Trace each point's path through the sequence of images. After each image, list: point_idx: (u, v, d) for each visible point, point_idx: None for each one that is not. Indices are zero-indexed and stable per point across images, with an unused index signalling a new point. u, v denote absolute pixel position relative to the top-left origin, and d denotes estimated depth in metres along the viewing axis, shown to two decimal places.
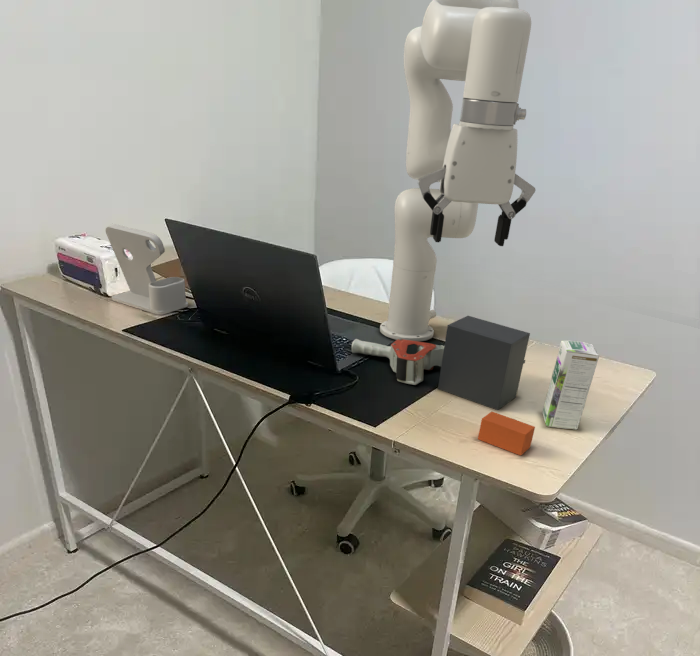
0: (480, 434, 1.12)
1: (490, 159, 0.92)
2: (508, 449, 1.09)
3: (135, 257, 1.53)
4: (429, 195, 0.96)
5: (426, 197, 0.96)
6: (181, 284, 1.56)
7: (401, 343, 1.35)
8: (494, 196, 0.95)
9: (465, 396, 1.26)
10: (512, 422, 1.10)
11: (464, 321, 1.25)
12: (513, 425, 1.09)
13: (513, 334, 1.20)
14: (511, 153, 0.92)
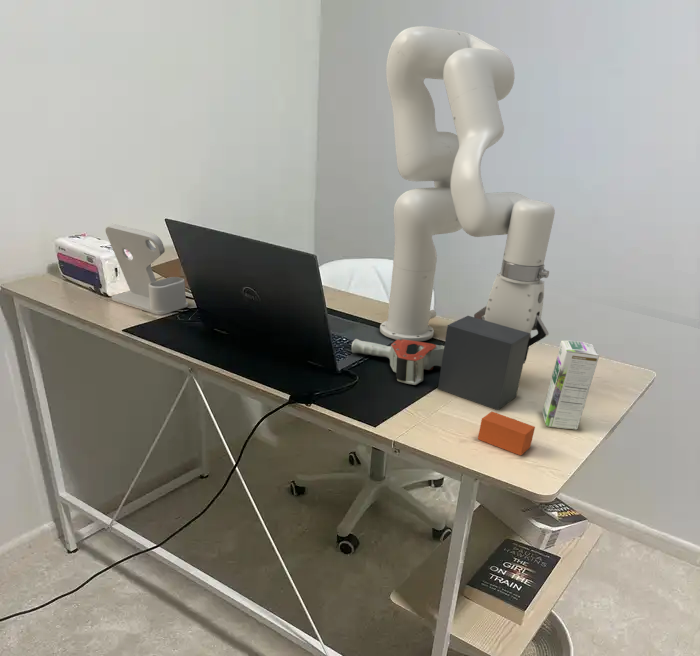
0: (480, 434, 1.12)
1: (513, 302, 1.25)
2: (508, 449, 1.09)
3: (135, 257, 1.53)
4: None
5: None
6: (181, 284, 1.56)
7: (401, 343, 1.35)
8: (517, 328, 1.27)
9: (465, 396, 1.26)
10: (512, 422, 1.10)
11: (464, 321, 1.25)
12: (513, 425, 1.09)
13: (513, 334, 1.20)
14: (529, 300, 1.23)
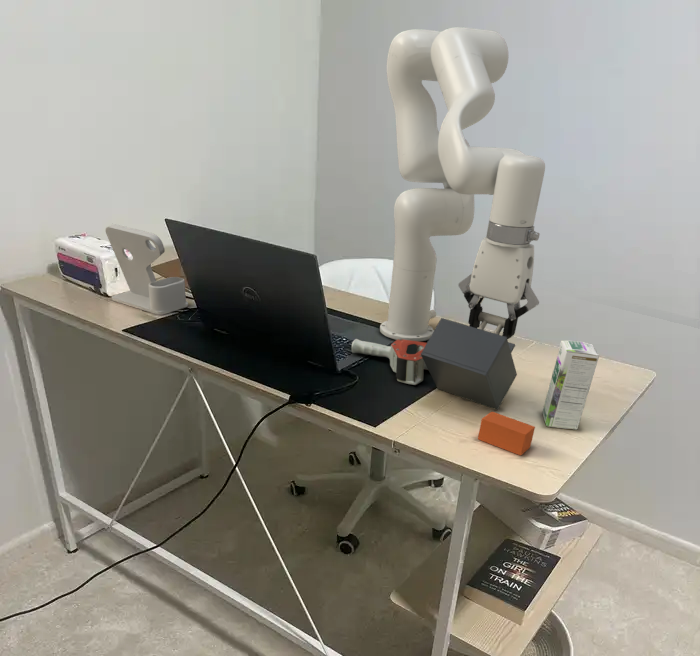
0: (480, 434, 1.12)
1: (501, 268, 1.14)
2: (508, 449, 1.09)
3: (135, 257, 1.53)
4: (467, 293, 1.22)
5: (465, 294, 1.22)
6: (181, 284, 1.56)
7: (401, 343, 1.35)
8: (505, 297, 1.16)
9: (464, 397, 1.26)
10: (512, 422, 1.10)
11: (437, 336, 1.18)
12: (513, 425, 1.09)
13: (488, 348, 1.13)
14: (518, 265, 1.13)
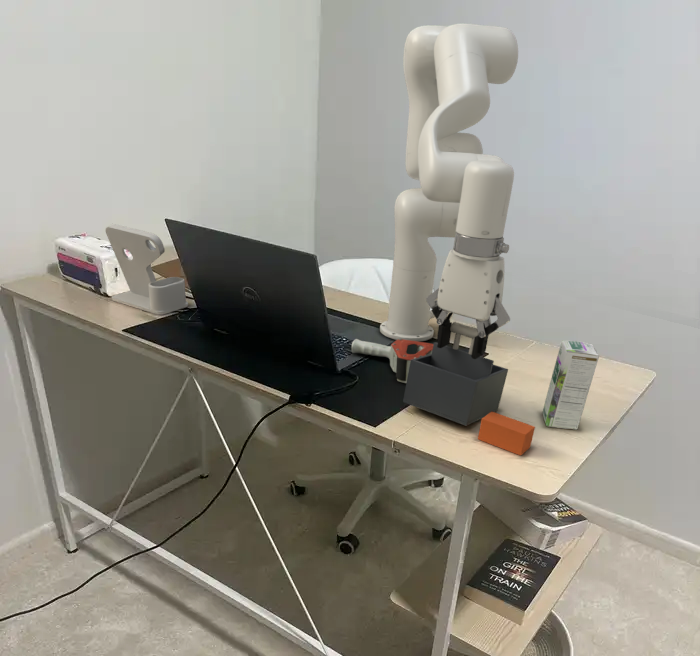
0: (480, 434, 1.12)
1: (468, 282, 1.06)
2: (508, 449, 1.09)
3: (135, 257, 1.53)
4: (435, 308, 1.14)
5: (433, 310, 1.14)
6: (181, 284, 1.56)
7: (401, 343, 1.35)
8: (473, 313, 1.08)
9: None
10: (512, 422, 1.10)
11: (412, 382, 1.17)
12: (513, 425, 1.09)
13: (462, 394, 1.12)
14: (486, 280, 1.05)
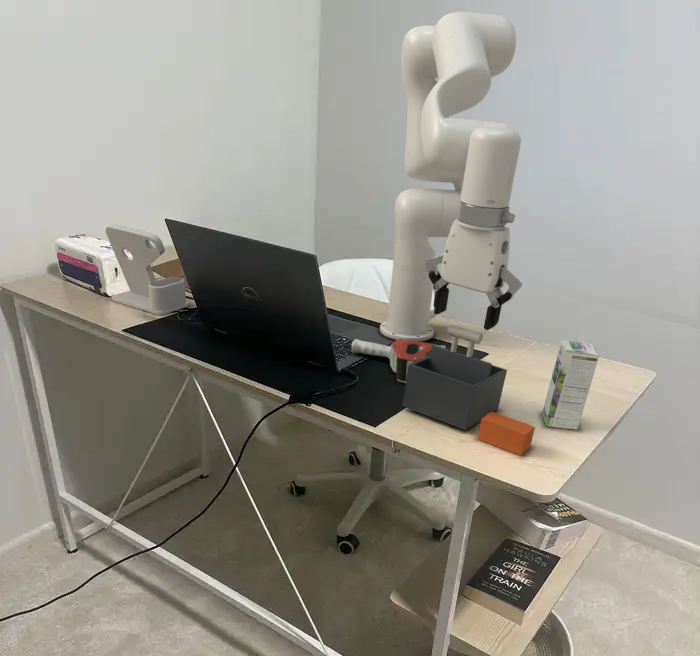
0: (480, 434, 1.12)
1: (473, 253, 1.04)
2: (508, 449, 1.09)
3: (135, 257, 1.53)
4: (432, 274, 1.12)
5: (430, 275, 1.12)
6: (181, 284, 1.56)
7: (401, 343, 1.35)
8: (477, 285, 1.06)
9: None
10: (512, 422, 1.10)
11: (411, 386, 1.17)
12: (513, 425, 1.09)
13: (460, 399, 1.12)
14: (491, 250, 1.03)
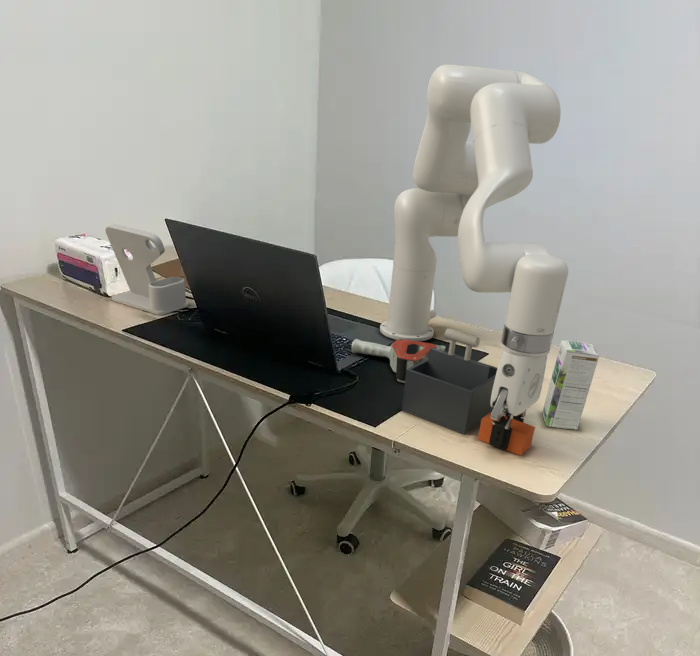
0: (480, 434, 1.12)
1: None
2: (508, 449, 1.09)
3: (135, 257, 1.53)
4: None
5: None
6: (181, 284, 1.56)
7: (401, 343, 1.35)
8: None
9: None
10: (512, 422, 1.10)
11: (409, 391, 1.17)
12: (513, 425, 1.09)
13: (459, 404, 1.12)
14: None
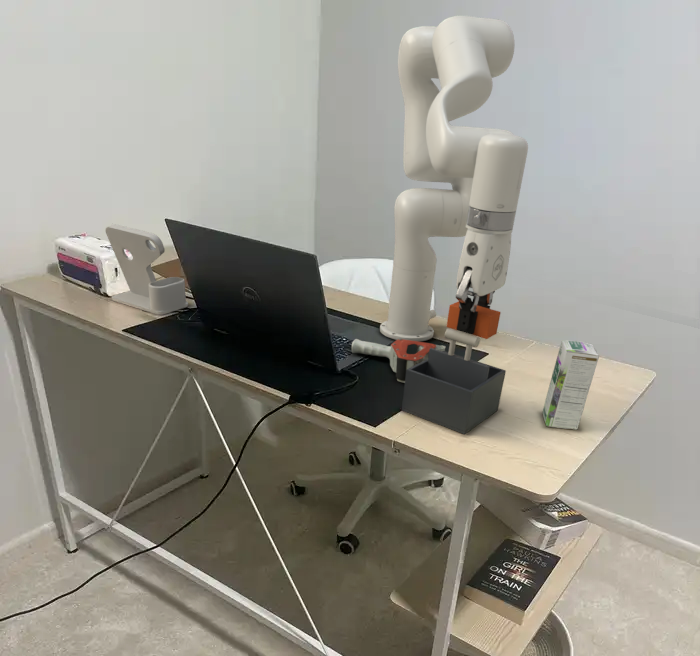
0: (448, 321, 1.16)
1: None
2: (475, 334, 1.14)
3: (135, 257, 1.53)
4: None
5: None
6: (181, 284, 1.56)
7: (401, 343, 1.35)
8: None
9: None
10: (478, 308, 1.14)
11: (409, 391, 1.17)
12: (479, 310, 1.13)
13: (459, 404, 1.12)
14: None
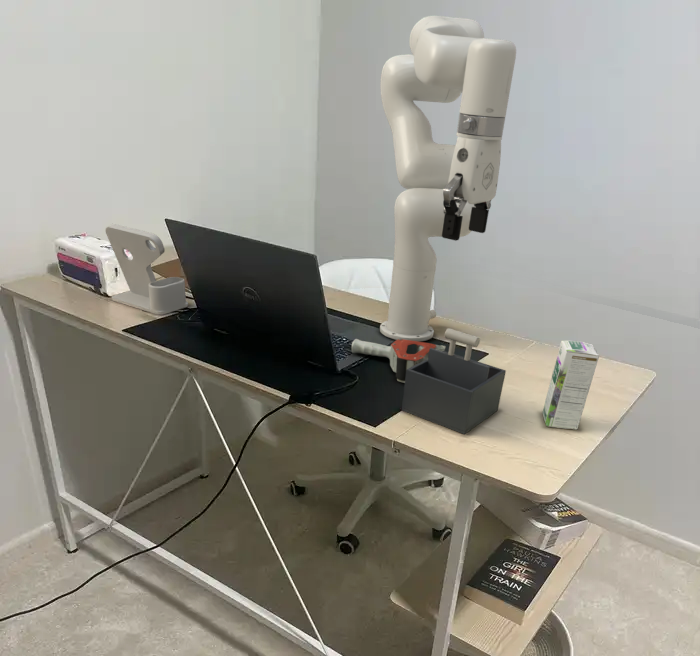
0: None
1: None
2: None
3: (135, 257, 1.53)
4: None
5: None
6: (181, 284, 1.56)
7: (401, 343, 1.35)
8: None
9: None
10: None
11: (409, 391, 1.17)
12: None
13: (459, 404, 1.12)
14: None
